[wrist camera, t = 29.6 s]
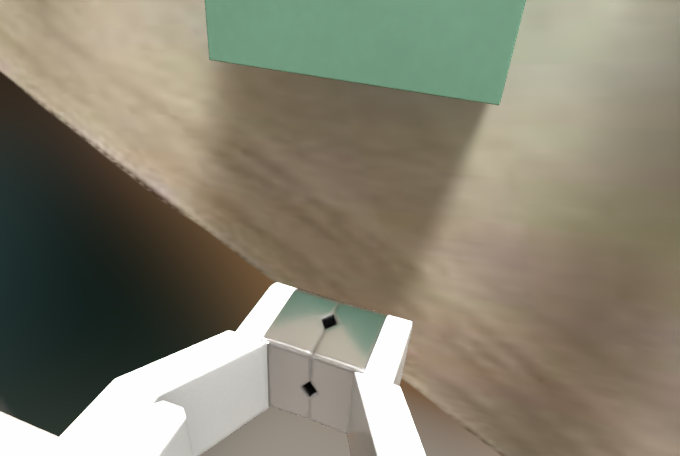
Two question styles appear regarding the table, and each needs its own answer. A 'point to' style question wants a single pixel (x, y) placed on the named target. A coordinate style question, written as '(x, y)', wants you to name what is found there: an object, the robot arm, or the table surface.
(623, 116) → the table surface
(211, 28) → the cover
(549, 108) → the table surface
